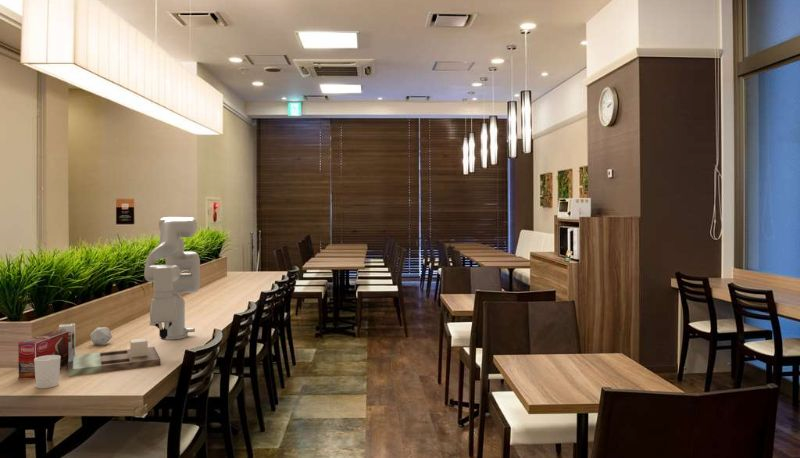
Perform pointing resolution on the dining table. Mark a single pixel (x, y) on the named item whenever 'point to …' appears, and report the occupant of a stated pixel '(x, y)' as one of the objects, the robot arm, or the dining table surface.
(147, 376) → the dining table surface
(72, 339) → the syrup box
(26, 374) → the ice cream box
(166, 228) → the robot arm
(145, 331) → the dining table surface
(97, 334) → the die
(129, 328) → the dining table surface
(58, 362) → the white cup
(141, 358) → the board
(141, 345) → the cream block
